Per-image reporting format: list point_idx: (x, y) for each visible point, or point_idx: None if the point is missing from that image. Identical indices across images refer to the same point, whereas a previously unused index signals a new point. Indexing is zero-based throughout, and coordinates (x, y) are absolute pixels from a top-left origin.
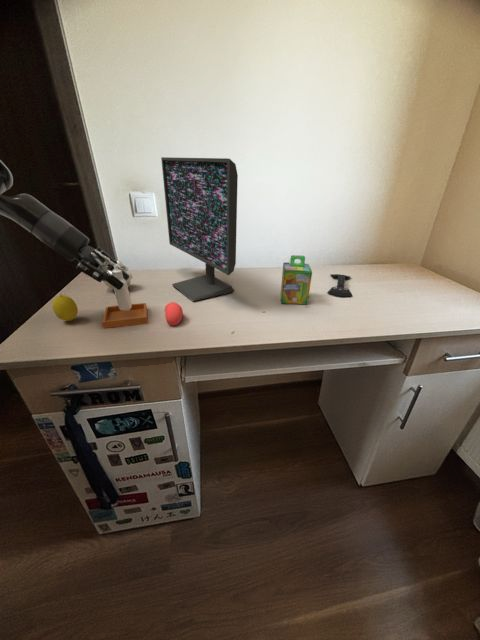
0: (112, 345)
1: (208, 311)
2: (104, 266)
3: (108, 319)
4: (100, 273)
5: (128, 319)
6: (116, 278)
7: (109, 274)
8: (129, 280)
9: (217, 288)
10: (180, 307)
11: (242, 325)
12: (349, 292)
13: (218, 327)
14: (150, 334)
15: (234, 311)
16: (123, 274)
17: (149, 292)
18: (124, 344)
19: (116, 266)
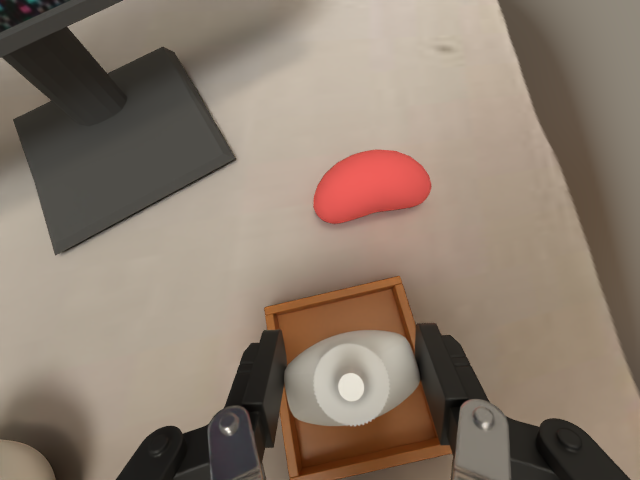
0: (570, 365)
1: (309, 113)
2: (468, 475)
3: (378, 446)
4: (616, 468)
5: None
6: (442, 360)
7: (488, 405)
8: (6, 441)
9: (164, 86)
10: (370, 150)
11: (402, 32)
12: None
13: (416, 81)
14: (476, 254)
15: (314, 52)
16: (276, 361)
17: (103, 337)
18: (555, 323)
19: (359, 374)
